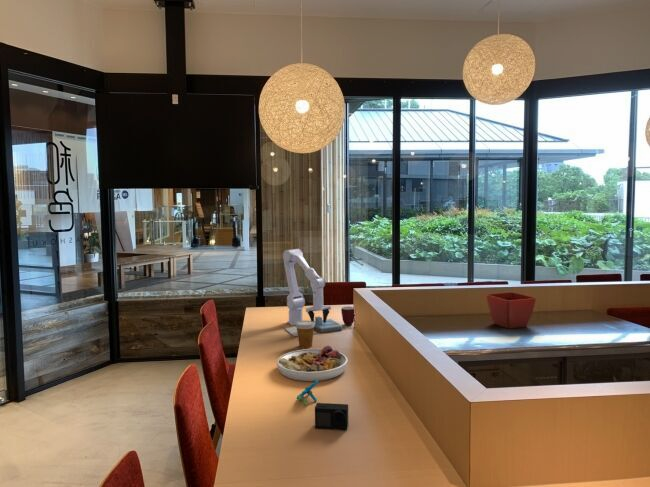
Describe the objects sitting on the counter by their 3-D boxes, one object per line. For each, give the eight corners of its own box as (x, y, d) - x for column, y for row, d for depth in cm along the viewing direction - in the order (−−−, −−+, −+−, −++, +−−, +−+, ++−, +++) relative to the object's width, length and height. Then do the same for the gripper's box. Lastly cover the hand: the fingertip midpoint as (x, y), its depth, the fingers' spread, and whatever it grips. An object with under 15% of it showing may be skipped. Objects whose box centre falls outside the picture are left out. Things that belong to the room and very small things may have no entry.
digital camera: (314, 430, 152) (313, 409, 151) (316, 422, 157) (316, 402, 156) (346, 432, 150) (346, 411, 149) (348, 424, 155) (348, 403, 155)
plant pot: (512, 319, 283) (512, 291, 281) (536, 327, 265) (536, 297, 263) (485, 322, 277) (485, 294, 275) (507, 331, 259) (508, 300, 257)
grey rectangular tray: (311, 326, 276) (311, 322, 276) (330, 323, 281) (330, 320, 281) (321, 333, 261) (321, 329, 261) (341, 330, 266) (341, 326, 266)
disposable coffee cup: (317, 344, 242) (317, 320, 241) (311, 349, 233) (310, 325, 232) (300, 342, 245) (299, 319, 244) (293, 348, 236) (292, 324, 235)
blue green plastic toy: (307, 388, 181) (320, 374, 176) (317, 400, 180) (331, 387, 174) (288, 402, 173) (302, 388, 167) (299, 415, 171) (312, 402, 165)
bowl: (323, 389, 184) (323, 370, 184) (262, 375, 200) (262, 357, 200) (359, 366, 210) (359, 348, 209) (303, 355, 226) (303, 339, 225)
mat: (284, 329, 270) (284, 328, 270) (306, 326, 275) (306, 325, 275) (294, 336, 255) (294, 335, 255) (316, 333, 260) (316, 332, 260)
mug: (361, 325, 277) (361, 308, 276) (353, 328, 270) (353, 310, 269) (346, 322, 283) (346, 305, 282) (338, 325, 277) (338, 308, 276)
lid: (310, 323, 276) (310, 314, 276) (330, 320, 281) (330, 312, 280) (321, 330, 261) (321, 321, 261) (342, 327, 266) (342, 318, 265)
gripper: (308, 302, 261) (309, 326, 263) (332, 299, 267) (333, 323, 268) (304, 299, 268) (304, 323, 269) (328, 297, 273) (328, 320, 275)
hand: (318, 323), depth 269 cm, fingers open, 6 cm apart
